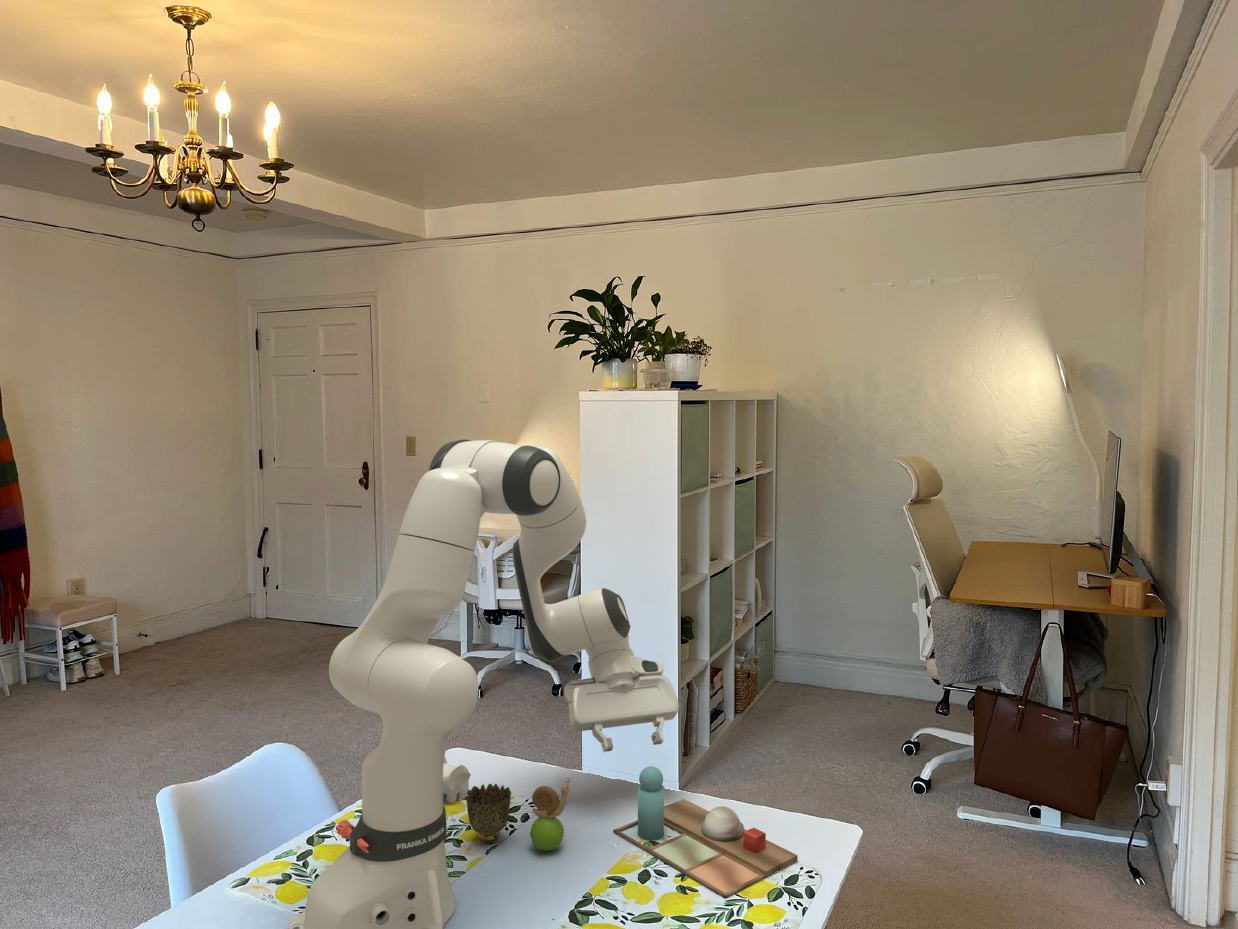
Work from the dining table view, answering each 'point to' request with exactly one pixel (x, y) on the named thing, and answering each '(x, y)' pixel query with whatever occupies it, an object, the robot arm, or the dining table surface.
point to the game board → (715, 848)
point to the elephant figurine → (455, 781)
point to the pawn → (651, 804)
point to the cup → (488, 811)
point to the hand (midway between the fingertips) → (633, 746)
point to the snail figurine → (548, 817)
